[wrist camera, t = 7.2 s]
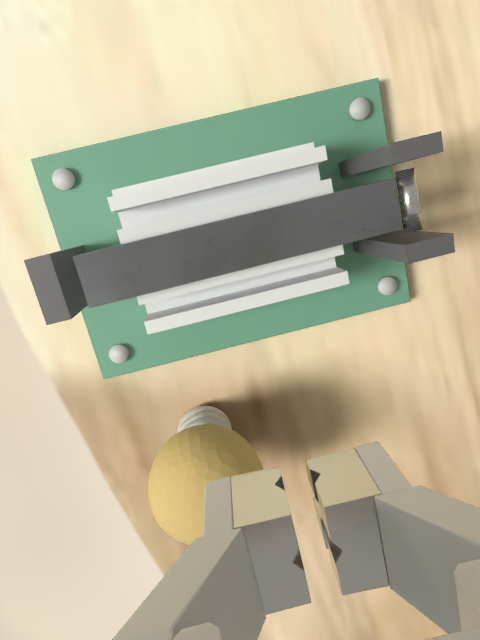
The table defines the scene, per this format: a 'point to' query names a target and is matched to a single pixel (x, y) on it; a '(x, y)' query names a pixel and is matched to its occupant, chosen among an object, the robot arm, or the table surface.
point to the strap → (249, 240)
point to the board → (204, 154)
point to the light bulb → (195, 469)
